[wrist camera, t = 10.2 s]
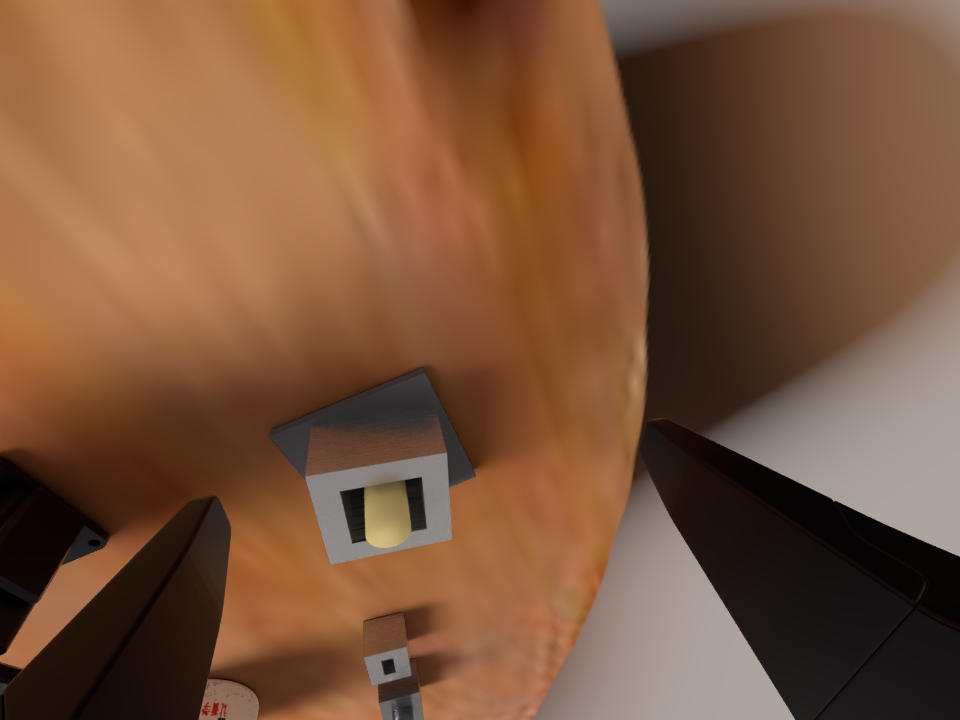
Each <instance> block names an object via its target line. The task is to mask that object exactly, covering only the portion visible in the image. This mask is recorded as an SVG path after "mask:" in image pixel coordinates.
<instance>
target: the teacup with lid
mask: <svg viewBox="0 0 960 720" xmlns="http://www.w3.org/2000/svg"><path fill="white" fill-rule="evenodd" d="M258 710H259V702H258V699H257V697H256V695H255V694H254V692H253V691H252V690H250V689H249V688H247V687H246V686H244V685H241V684H239V683H236V682H232V681H227V680H220V679H208V681H207V685H206V690H205V694H204V698H203V703H202V707H201V712H200V716H199V720H257V717H258Z"/></svg>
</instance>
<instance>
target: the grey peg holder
mask: <svg viewBox="0 0 960 720" xmlns="http://www.w3.org/2000/svg"><path fill="white" fill-rule="evenodd" d="M429 406H435V408H436V412H437V416H438V420H439V424H440V428H441V432H442V435H443V439H444V443H445V447H446V451H447V463H448V480H449V487H452V486H454V485H457V484H459V483H461V482H464V481H466V480H468V479H471V478H473V477H476V475H475V472H474V469H473V467H472V465H471V463H470V461H469V459H468V457H467V455H466V453H465V451H464V449H463V447H462V445H461V443H460V441H459V439H458V437H457V435H456V433H455V431H454V428H453V426H452V424H451V422H450V420H449V418H448V416H447V414H446V412H445V410H444V408H443V406H442V404H441V402H440V400H439V398H438V396H437V394H436V392H435V390H434V388H433V386H432V384H431V382H430V380H429V378H428V376H427V374H426V372H425V370H424V368H423V367H422V368H420V369H417V370H415V371H413V372H410V373H408V374H405V375H403V376H401V377H398V378H396V379H393V380H391V381H388V382H386V383H384V384H381V385H379V386H376V387H374V388H372V389H369V390H367V391H364V392H362V393H360V394H357V395H355V396H352V397H350V398H347V399H345V400H343V401H340V402H338V403H335V404H333V405H331V406H328V407H326V408H323V409H321V410H318V411H316V412H314V413H311V414H309V415H306V416H304V417H302V418H299V419H297V420H294V421H292V422H289V423H287V424H285V425H282V426H280V427H277V428H275V429H273V430H271V432H270V436H269V437H270V438H271V440H272V441H273V442H274V443H275V444H276V446H277V447H278V448H279V449H280V450H281V451H282V453H283V454H284V455H285V456H286V457H287V459H288V460H289V461H290V462H291V463H292V465H293V466H294V467H295V468H296V469H297V471H298V472H299V473H300V474H301V475H302V476H303V478H304V479H305V480H306V478H305V473H306V464H307V456H308V447H309V439H310V430H311V424H315V423H321V422H328V421H335V420H342V419H348V418H355V417H362V416H369V415H375V414H382V413H389V412H396V411H402V410H409V409H416V408H423V407H429ZM364 501H365V535H366V540H367V541H368V542H369V543H370V544H371V545H373V546H375V547H379V548H389V547H394V546H397V545H399V544H401V543H403V542H404V541H406V540H407V539H408V537H409V536H410V534H411V530H412V529H411V521H410V514H409V506H408V499H407V491H406V483H405V480H401V481H396V482H390V483H384V484H379V485H373V486H368V487H364Z"/></svg>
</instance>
